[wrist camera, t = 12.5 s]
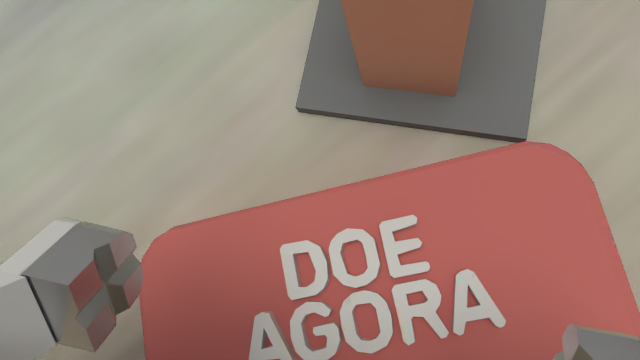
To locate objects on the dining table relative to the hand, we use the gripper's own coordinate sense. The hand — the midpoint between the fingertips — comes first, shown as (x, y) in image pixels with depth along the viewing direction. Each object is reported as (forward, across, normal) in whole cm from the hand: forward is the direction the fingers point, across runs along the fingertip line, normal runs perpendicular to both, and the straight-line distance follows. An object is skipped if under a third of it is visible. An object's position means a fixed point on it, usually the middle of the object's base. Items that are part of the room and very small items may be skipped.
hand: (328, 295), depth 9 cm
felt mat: (+16, 0, -1) cm, 17 cm away
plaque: (+7, +1, -11) cm, 13 cm away
